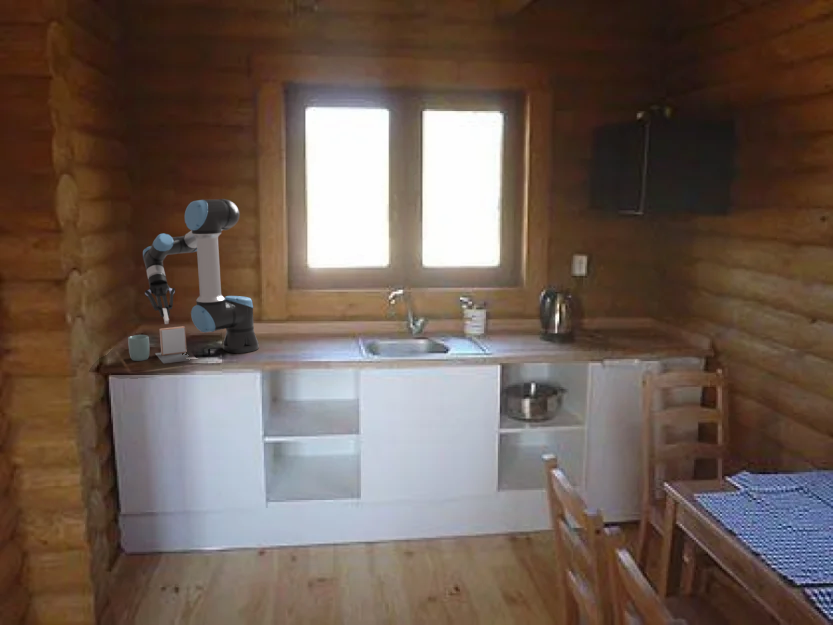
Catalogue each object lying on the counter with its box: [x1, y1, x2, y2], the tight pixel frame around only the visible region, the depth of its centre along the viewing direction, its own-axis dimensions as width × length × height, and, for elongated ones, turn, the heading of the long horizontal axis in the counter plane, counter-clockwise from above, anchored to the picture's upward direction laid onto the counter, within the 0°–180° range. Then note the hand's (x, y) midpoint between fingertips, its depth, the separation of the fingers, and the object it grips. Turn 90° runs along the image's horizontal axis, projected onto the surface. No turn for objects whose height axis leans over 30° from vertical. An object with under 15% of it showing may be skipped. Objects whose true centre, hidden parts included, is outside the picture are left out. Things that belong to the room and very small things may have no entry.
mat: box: [154, 352, 190, 365], centre depth 309 cm, size 18×14×1 cm
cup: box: [127, 334, 150, 362], centre depth 304 cm, size 8×8×10 cm
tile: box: [159, 325, 188, 355], centre depth 312 cm, size 2×10×11 cm, turn 119°
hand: (166, 322), depth 319 cm, fingers closed
